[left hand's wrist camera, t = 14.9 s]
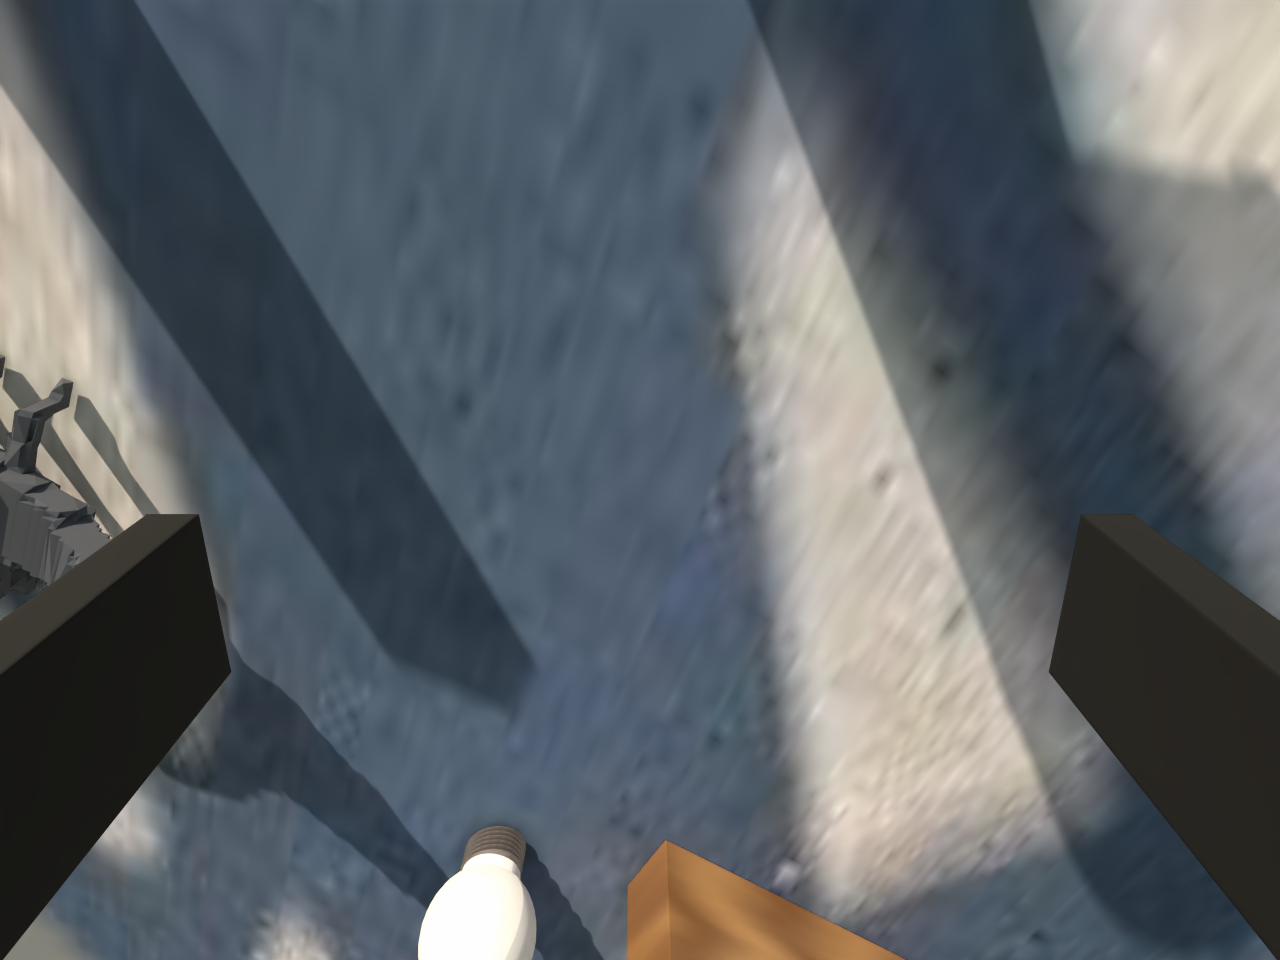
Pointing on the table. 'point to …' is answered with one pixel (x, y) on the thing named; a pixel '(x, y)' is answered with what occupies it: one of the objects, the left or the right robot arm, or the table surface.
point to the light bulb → (483, 904)
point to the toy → (39, 506)
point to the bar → (725, 918)
